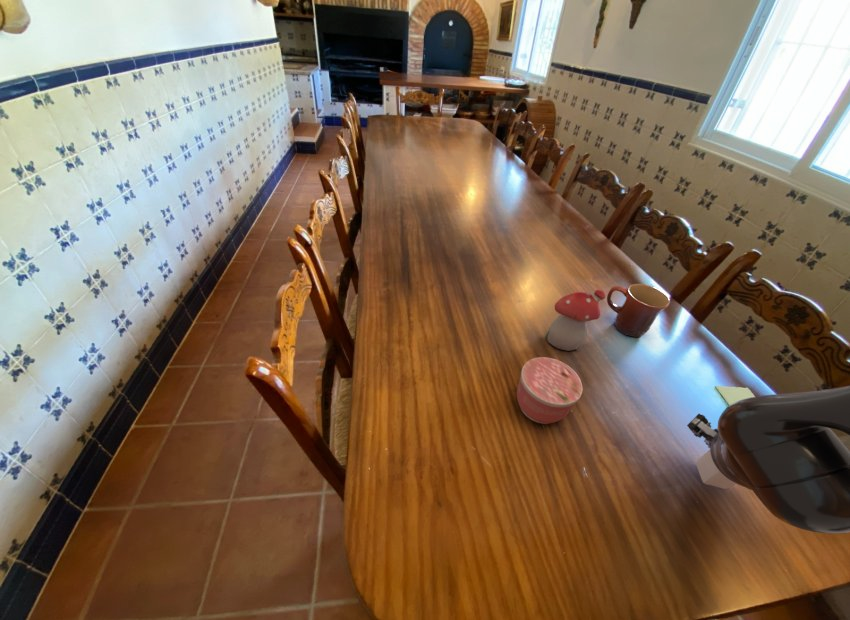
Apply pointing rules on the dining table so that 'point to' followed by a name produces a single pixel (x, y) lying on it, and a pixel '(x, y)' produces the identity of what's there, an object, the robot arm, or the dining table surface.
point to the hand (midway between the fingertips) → (732, 455)
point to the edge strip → (734, 393)
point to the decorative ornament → (574, 319)
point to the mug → (638, 308)
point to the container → (547, 390)
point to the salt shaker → (712, 473)
